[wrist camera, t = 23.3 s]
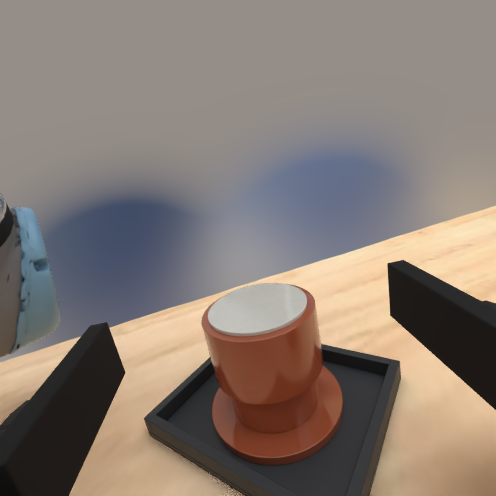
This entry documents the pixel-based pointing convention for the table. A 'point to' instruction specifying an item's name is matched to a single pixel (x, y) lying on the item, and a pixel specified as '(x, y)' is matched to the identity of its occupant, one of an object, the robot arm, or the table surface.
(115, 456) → the table surface
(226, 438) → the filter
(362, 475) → the drip tray
